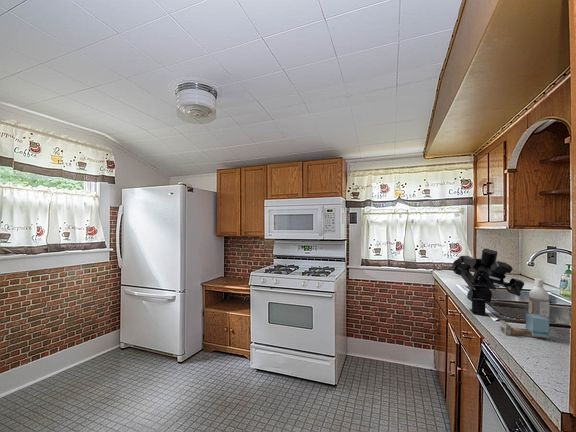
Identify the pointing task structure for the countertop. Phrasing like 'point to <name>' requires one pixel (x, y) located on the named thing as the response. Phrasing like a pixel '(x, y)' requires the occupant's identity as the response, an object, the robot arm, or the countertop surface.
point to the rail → (516, 330)
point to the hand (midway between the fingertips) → (507, 292)
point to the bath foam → (539, 299)
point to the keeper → (537, 325)
